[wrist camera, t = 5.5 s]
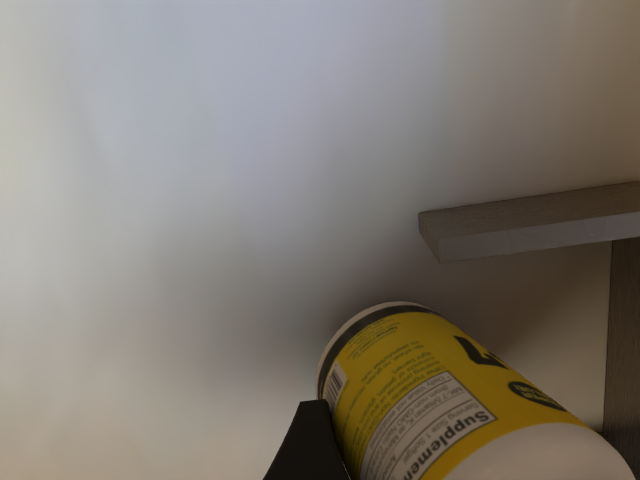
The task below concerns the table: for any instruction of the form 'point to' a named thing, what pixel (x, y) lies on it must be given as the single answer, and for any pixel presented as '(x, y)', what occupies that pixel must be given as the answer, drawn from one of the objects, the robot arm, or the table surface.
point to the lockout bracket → (559, 231)
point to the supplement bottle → (446, 407)
